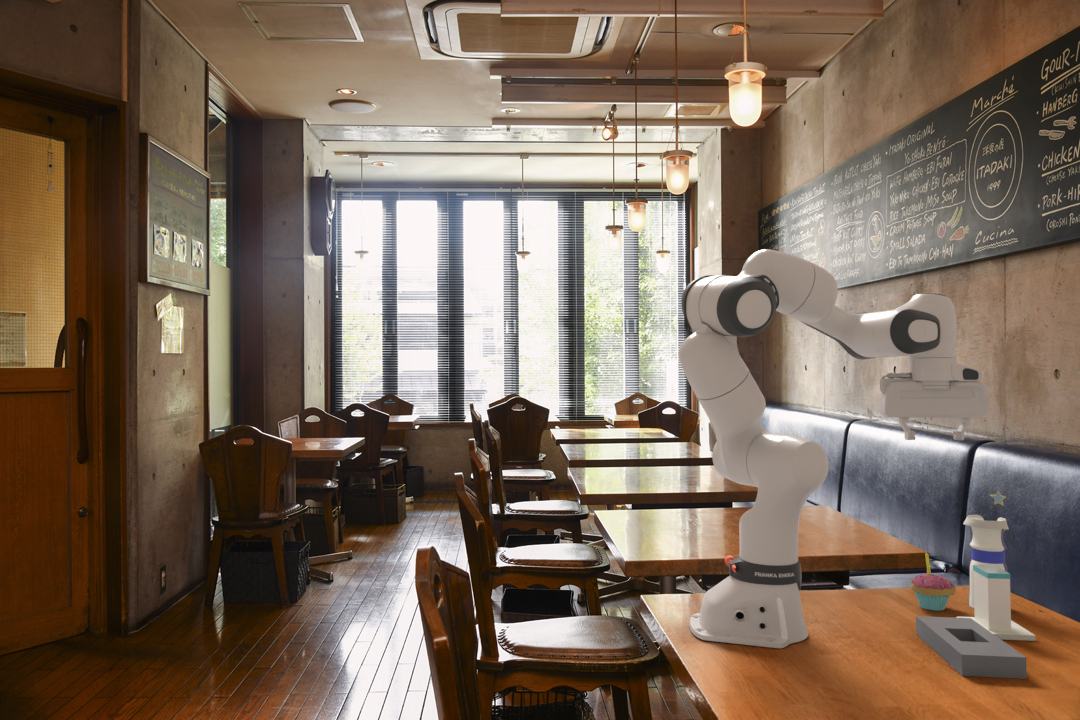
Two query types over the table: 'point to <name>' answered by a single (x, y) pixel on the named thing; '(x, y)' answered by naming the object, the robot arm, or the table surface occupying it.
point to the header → (971, 647)
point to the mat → (1011, 632)
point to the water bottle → (986, 543)
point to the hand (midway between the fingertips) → (934, 439)
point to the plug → (992, 598)
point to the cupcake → (932, 589)
